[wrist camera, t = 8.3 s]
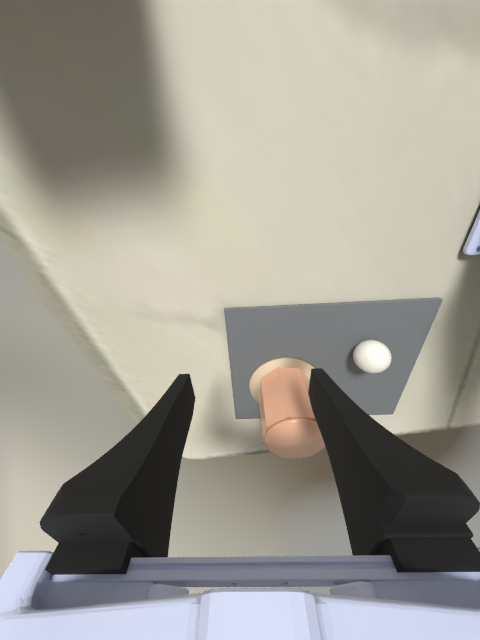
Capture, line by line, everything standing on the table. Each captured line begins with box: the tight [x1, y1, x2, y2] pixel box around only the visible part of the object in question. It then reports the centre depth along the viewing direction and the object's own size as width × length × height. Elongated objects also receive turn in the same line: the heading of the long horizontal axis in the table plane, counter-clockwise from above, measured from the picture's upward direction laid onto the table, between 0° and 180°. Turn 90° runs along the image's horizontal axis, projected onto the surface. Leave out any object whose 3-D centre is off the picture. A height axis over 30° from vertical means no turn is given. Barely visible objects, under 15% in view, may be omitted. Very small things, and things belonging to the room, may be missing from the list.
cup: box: [259, 367, 325, 459], centre depth 23 cm, size 6×6×6 cm
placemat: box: [224, 298, 443, 419], centre depth 25 cm, size 20×16×1 cm
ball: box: [353, 340, 391, 373], centre depth 21 cm, size 3×3×3 cm
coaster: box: [249, 357, 314, 403], centre depth 26 cm, size 8×8×1 cm
